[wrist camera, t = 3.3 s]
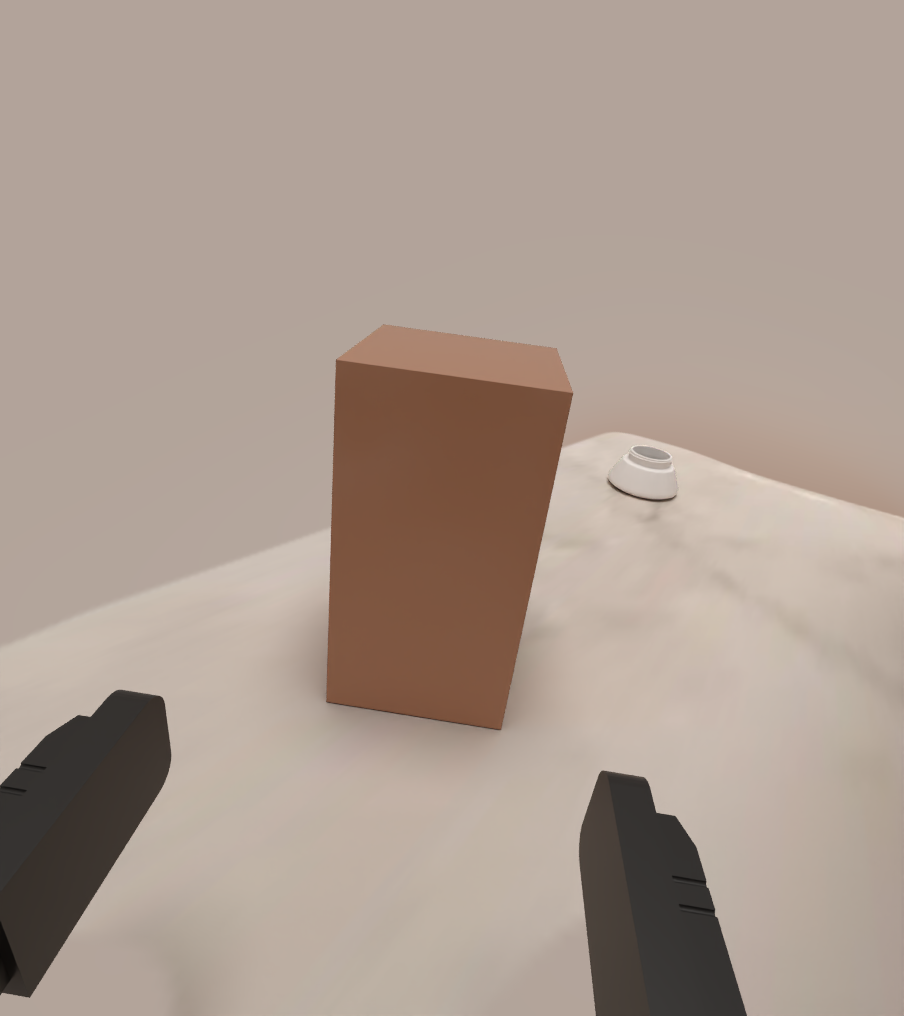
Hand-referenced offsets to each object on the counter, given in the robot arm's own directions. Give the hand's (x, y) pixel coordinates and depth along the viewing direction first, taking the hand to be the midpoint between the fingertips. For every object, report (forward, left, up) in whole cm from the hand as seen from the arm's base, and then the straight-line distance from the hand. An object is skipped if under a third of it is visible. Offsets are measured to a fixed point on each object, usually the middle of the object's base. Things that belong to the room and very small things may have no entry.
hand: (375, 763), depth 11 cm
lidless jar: (+2, -36, -7) cm, 37 cm away
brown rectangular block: (+5, -10, -7) cm, 13 cm away
